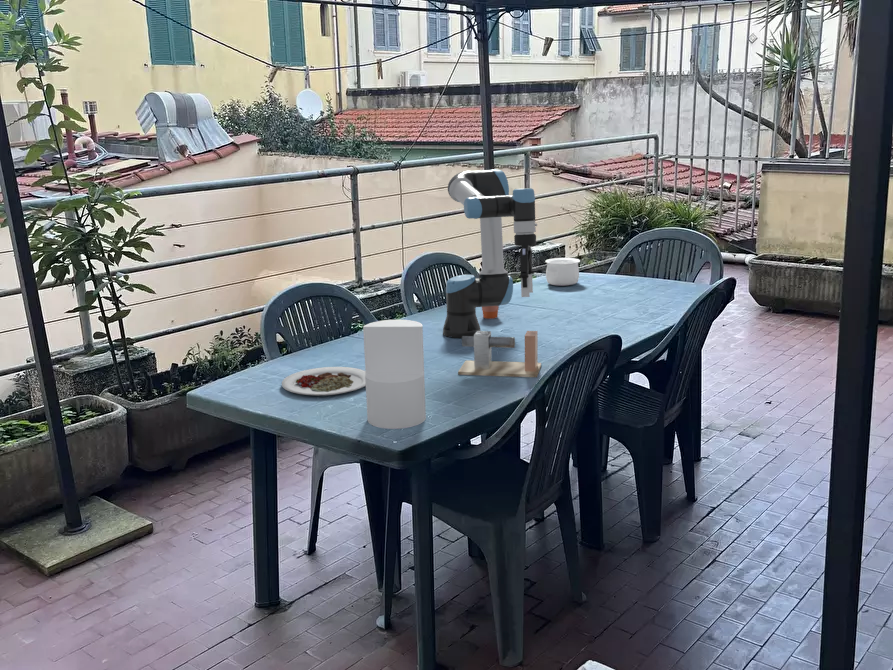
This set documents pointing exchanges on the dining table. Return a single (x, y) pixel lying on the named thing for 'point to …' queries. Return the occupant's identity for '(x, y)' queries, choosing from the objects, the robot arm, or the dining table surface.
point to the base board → (499, 369)
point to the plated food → (325, 381)
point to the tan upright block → (531, 350)
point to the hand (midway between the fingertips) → (527, 294)
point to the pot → (562, 271)
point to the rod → (491, 341)
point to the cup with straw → (490, 312)
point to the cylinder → (394, 373)
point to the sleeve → (482, 350)
